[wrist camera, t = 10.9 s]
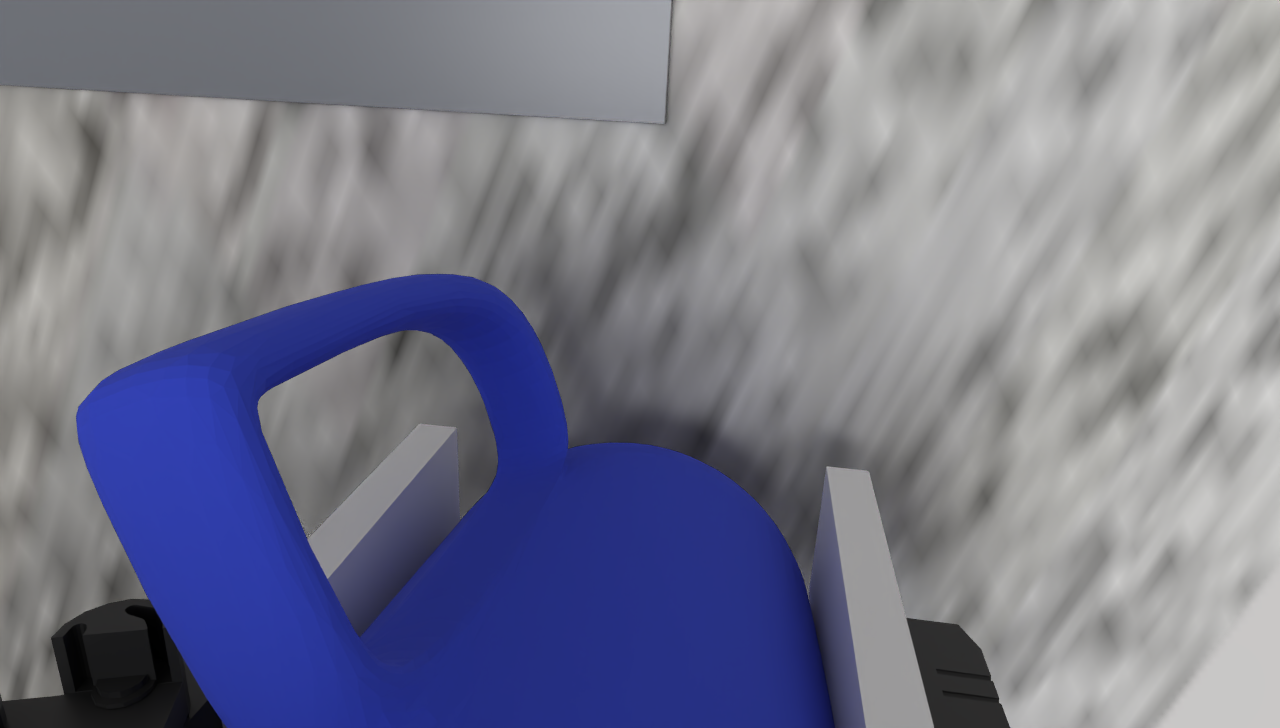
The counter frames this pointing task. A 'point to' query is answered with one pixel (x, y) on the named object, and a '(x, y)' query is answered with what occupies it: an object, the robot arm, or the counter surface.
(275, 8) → the label panel
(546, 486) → the mug
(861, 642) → the robot arm
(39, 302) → the counter surface
